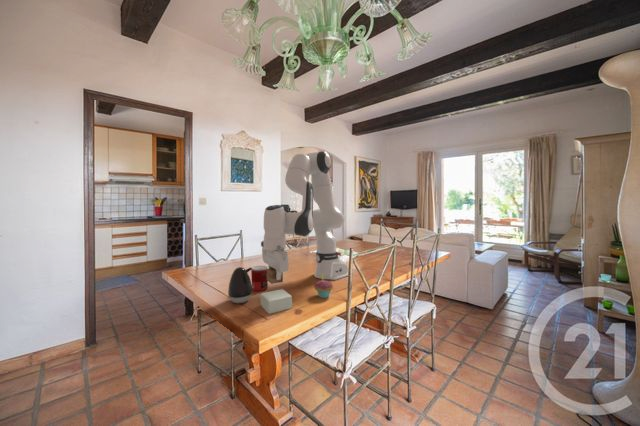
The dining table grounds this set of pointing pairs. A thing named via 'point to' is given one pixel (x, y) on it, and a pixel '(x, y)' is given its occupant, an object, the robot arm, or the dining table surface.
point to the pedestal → (276, 301)
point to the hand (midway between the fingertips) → (275, 277)
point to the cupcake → (323, 287)
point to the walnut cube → (273, 276)
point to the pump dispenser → (240, 286)
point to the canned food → (259, 278)
